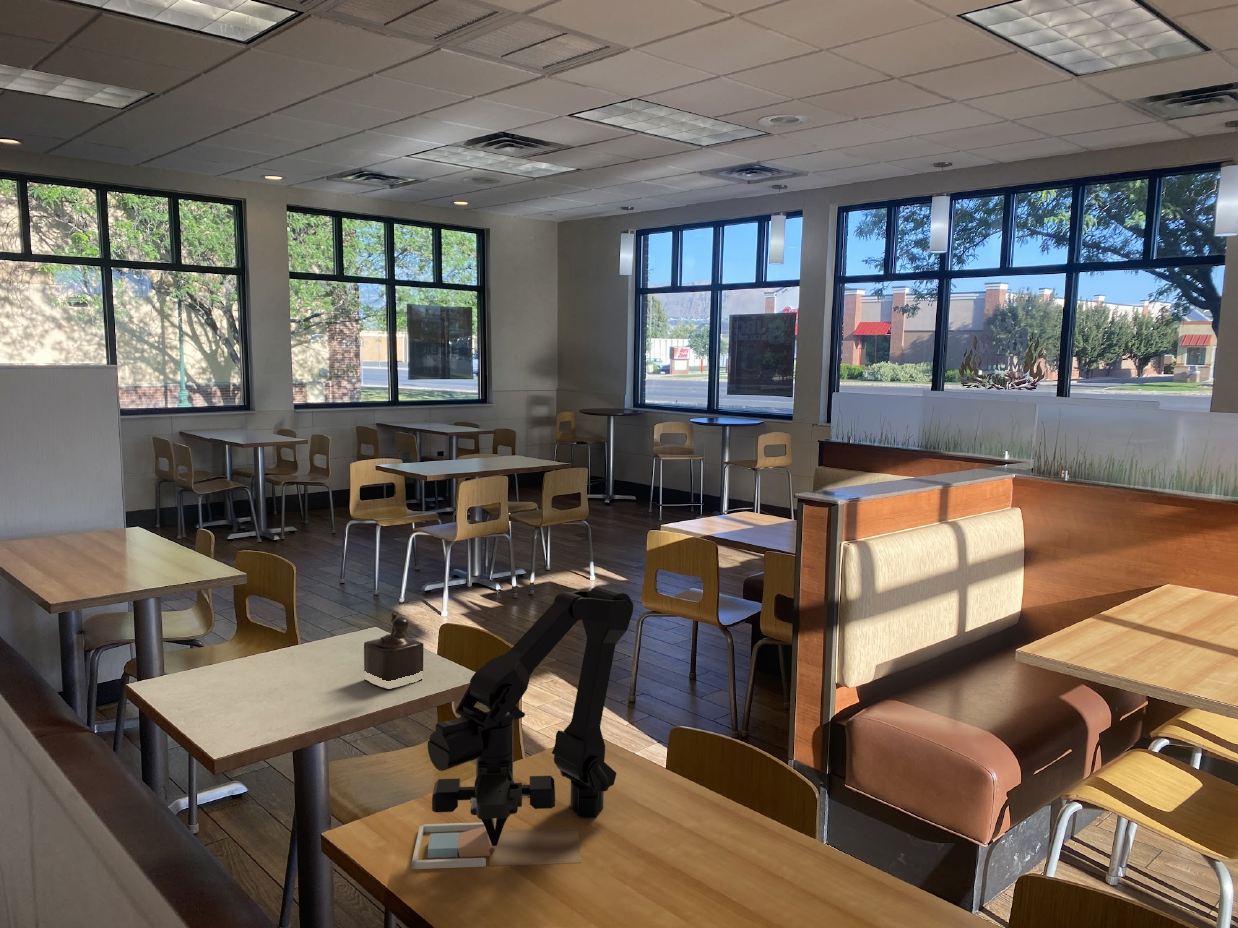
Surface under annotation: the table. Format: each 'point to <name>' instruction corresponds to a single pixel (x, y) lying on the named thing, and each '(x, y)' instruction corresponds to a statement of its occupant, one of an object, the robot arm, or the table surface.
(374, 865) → the table surface
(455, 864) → the tray
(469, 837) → the terracotta tile
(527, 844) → the board
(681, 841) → the table surface
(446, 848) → the slate tile
